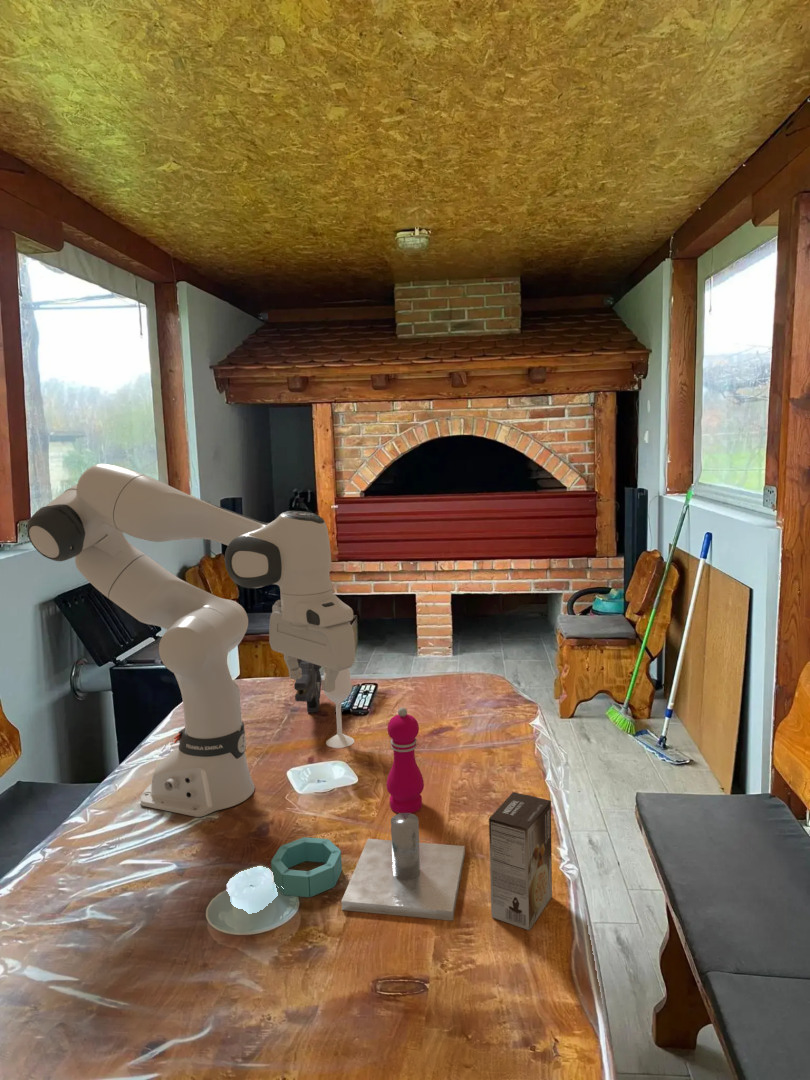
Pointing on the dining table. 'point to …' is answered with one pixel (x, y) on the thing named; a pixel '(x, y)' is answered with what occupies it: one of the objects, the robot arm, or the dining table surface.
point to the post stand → (406, 875)
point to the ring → (306, 880)
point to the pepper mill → (404, 765)
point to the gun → (309, 685)
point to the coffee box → (520, 859)
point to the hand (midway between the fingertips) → (311, 684)
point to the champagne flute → (338, 696)
